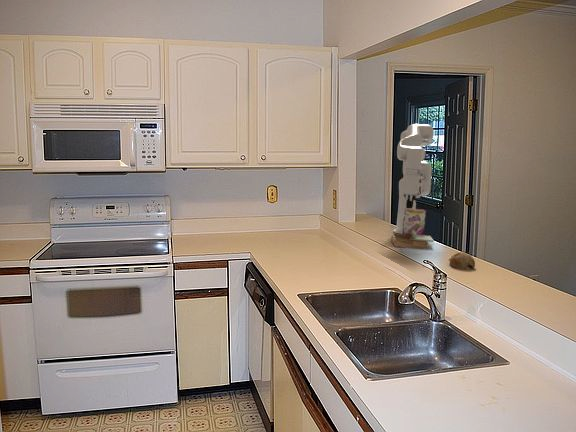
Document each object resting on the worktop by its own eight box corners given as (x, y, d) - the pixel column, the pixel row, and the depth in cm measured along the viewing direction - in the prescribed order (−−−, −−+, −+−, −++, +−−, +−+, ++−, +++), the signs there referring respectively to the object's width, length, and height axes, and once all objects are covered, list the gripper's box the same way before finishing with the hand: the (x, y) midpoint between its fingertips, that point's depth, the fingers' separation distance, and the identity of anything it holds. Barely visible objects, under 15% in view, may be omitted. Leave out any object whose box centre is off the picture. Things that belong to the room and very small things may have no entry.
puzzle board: (391, 239, 284) (392, 233, 283) (422, 242, 282) (423, 235, 282) (394, 246, 266) (394, 238, 266) (427, 249, 264) (428, 241, 264)
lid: (411, 235, 280) (411, 229, 280) (429, 237, 279) (430, 230, 279) (413, 240, 267) (414, 233, 266) (433, 242, 266) (434, 235, 265)
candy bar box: (401, 239, 286) (404, 209, 283) (400, 238, 291) (403, 208, 288) (423, 241, 285) (426, 210, 282) (422, 240, 290) (425, 209, 287)
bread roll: (458, 277, 224) (466, 262, 221) (442, 262, 232) (450, 247, 228) (474, 276, 230) (482, 261, 226) (457, 261, 237) (466, 246, 233)
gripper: (429, 173, 272) (426, 209, 275) (404, 170, 282) (400, 205, 285) (421, 174, 266) (418, 211, 270) (396, 170, 277) (392, 206, 280)
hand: (409, 208), depth 277 cm, fingers closed
